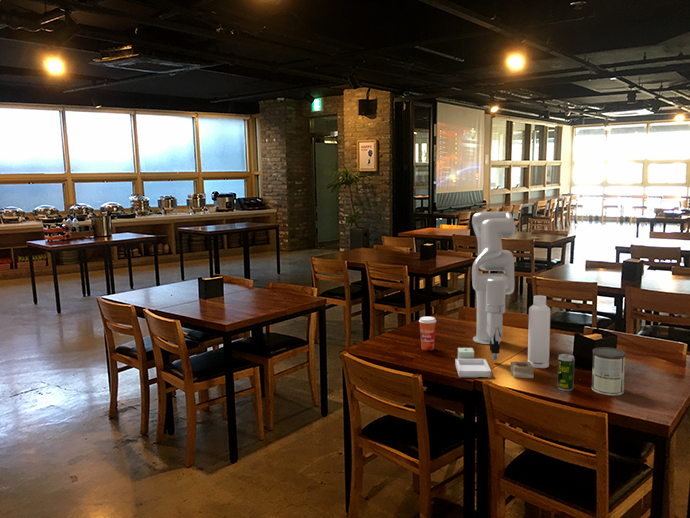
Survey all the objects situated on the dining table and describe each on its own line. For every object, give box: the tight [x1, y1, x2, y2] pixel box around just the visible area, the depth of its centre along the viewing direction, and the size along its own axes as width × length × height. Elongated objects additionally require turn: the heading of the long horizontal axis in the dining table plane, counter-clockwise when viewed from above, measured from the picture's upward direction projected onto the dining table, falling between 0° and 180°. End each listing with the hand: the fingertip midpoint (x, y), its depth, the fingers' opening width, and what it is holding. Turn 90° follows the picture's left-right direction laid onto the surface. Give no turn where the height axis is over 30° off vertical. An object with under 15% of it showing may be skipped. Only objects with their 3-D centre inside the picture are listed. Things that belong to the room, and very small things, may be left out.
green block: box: [457, 347, 475, 359], centre depth 227 cm, size 6×6×5 cm
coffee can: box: [591, 346, 627, 397], centre depth 191 cm, size 10×10×14 cm
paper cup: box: [418, 316, 437, 352], centre depth 245 cm, size 8×8×14 cm
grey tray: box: [454, 358, 492, 379], centre depth 215 cm, size 15×12×2 cm
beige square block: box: [510, 361, 535, 379], centre depth 209 cm, size 7×7×4 cm
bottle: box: [527, 294, 551, 369], centre depth 219 cm, size 8×8×28 cm
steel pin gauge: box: [491, 335, 499, 361], centre depth 223 cm, size 2×2×12 cm
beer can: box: [556, 353, 575, 392], centre depth 194 cm, size 5×5×12 cm
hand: (494, 351), depth 224 cm, fingers closed on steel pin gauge, 2 cm apart
